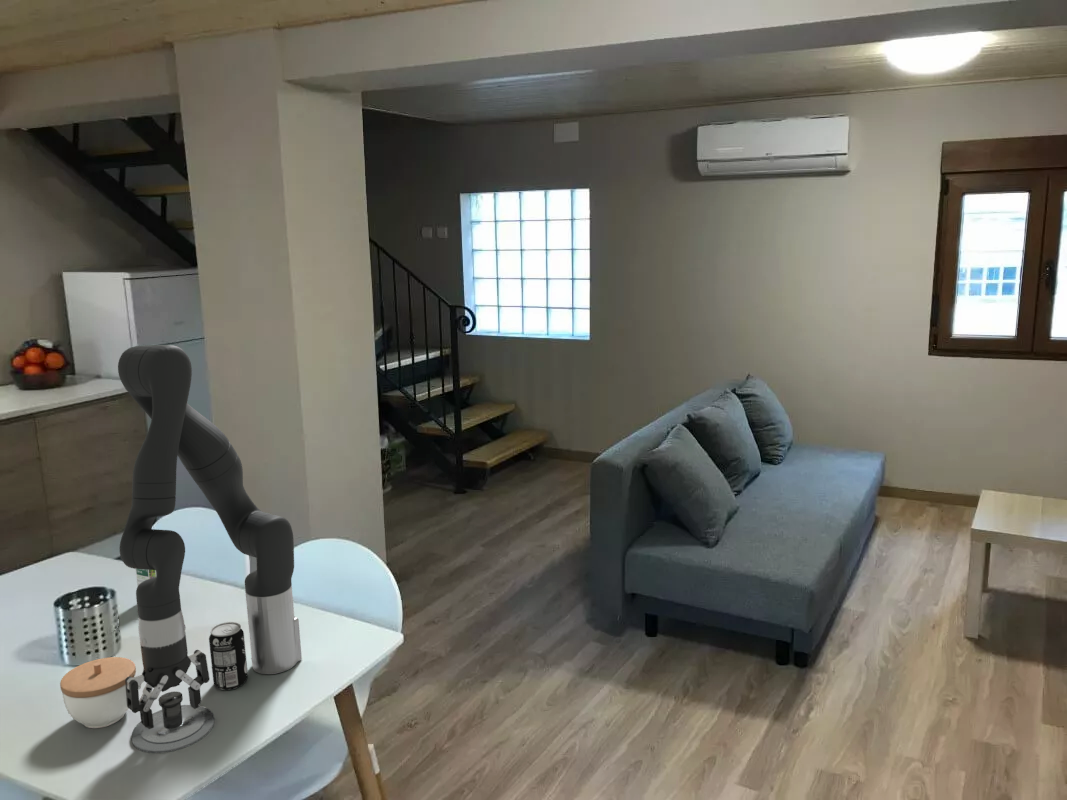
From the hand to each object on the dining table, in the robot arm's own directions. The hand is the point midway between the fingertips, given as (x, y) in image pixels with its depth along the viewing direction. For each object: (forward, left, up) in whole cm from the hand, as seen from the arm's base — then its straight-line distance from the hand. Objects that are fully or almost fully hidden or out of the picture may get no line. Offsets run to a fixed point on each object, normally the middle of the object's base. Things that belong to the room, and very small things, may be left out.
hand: (172, 716), depth 153 cm
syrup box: (-22, -58, -3) cm, 62 cm away
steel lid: (0, 0, -3) cm, 3 cm away
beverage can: (-15, -7, -3) cm, 17 cm away
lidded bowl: (+7, -14, -3) cm, 16 cm away
